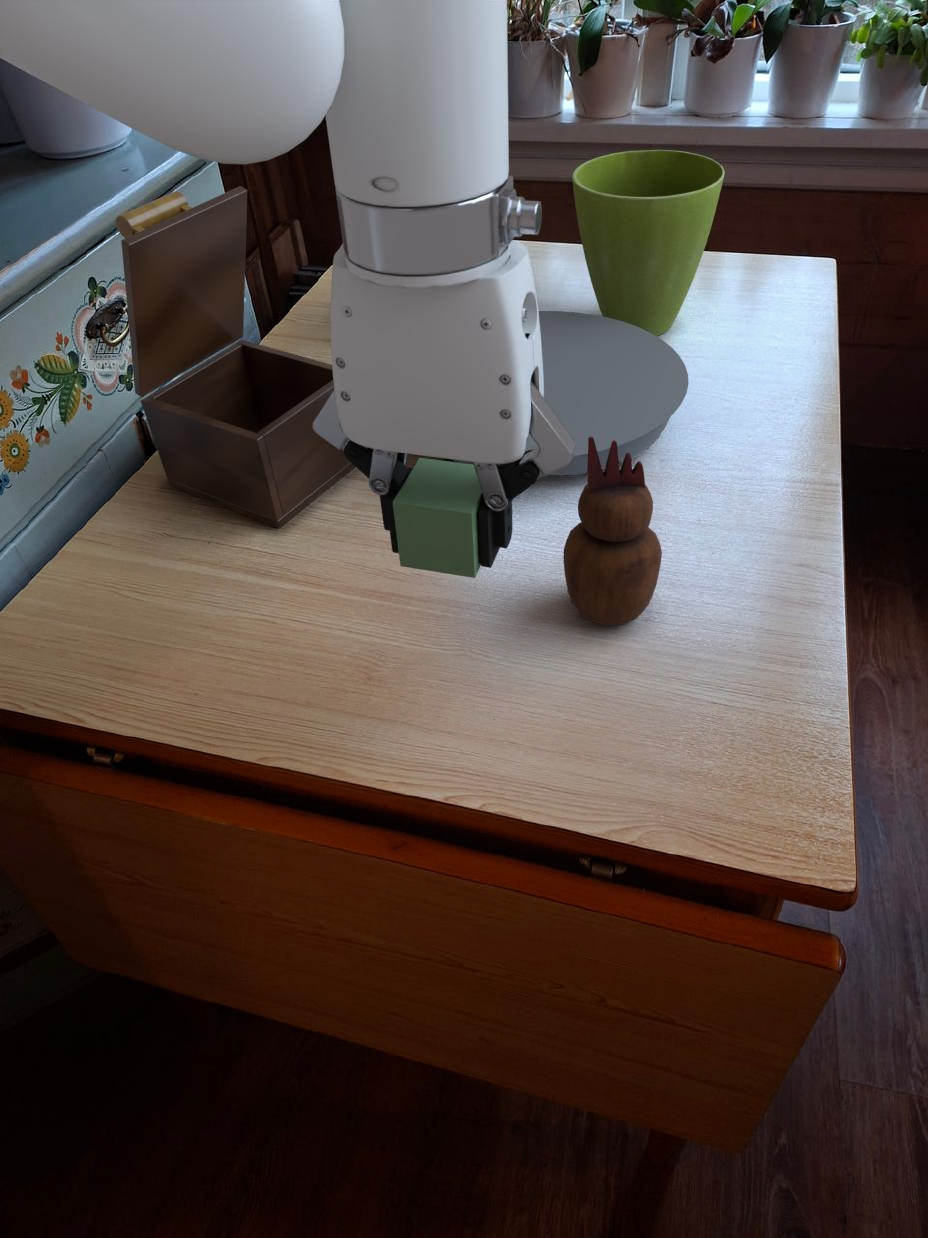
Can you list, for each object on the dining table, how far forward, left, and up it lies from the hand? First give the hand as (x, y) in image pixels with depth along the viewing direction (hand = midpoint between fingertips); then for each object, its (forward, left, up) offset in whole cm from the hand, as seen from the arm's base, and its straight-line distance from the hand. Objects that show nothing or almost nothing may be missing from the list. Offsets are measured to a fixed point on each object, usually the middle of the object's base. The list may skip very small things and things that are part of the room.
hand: (448, 543), depth 53 cm
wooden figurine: (+12, +6, -14) cm, 20 cm away
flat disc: (+14, +34, -14) cm, 39 cm away
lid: (-14, +35, +2) cm, 38 cm away
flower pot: (+30, +50, -14) cm, 60 cm away
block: (0, 0, 0) cm, 0 cm away
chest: (-12, +33, -14) cm, 37 cm away
